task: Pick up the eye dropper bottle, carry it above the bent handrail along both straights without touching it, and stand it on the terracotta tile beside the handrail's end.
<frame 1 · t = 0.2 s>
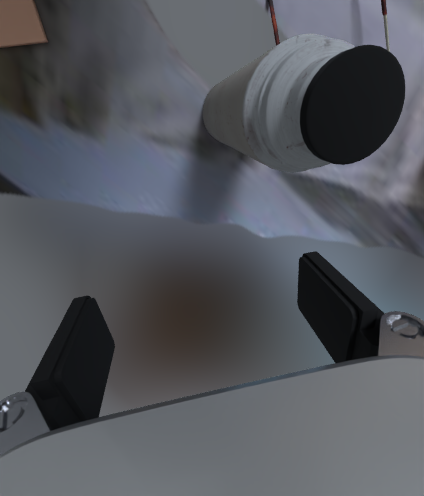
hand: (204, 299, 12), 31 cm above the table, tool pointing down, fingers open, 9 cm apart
thermos bottle: (229, 113, 36), on the table
sunglasses: (318, 50, 35), on the table
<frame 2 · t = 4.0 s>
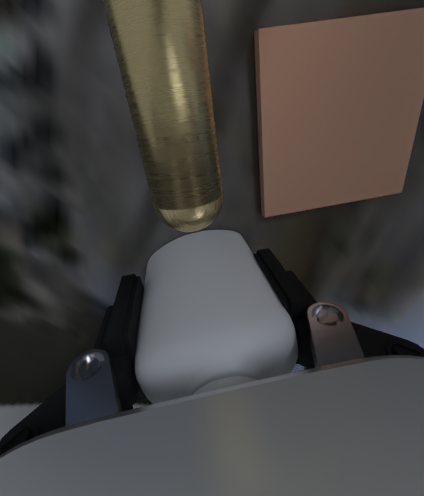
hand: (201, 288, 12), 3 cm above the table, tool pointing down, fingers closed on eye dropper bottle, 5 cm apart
bent handrail: (230, 36, 10), on the table
eye dropper bottle: (197, 255, 15), on the table, touching gripper
terracotta tile: (335, 124, 13), on the table
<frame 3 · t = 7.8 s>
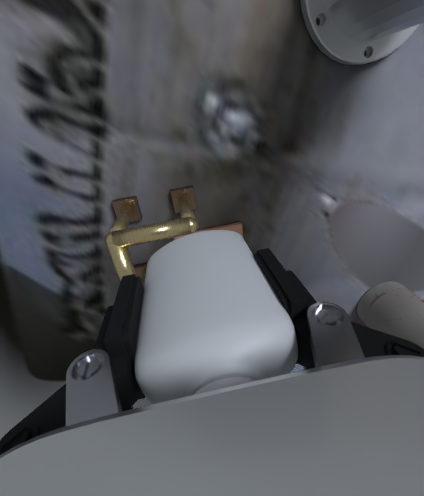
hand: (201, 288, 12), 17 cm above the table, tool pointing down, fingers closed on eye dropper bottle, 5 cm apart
bent handrail: (164, 236, 29), on the table
thermos bottle: (379, 301, 40), on the table
eye dropper bottle: (197, 256, 15), point 14 cm above the table, touching gripper
when the fingers open (4 cm above the table, at t = 11.6 s): eye dropper bottle stays where it is, resting on terracotta tile.
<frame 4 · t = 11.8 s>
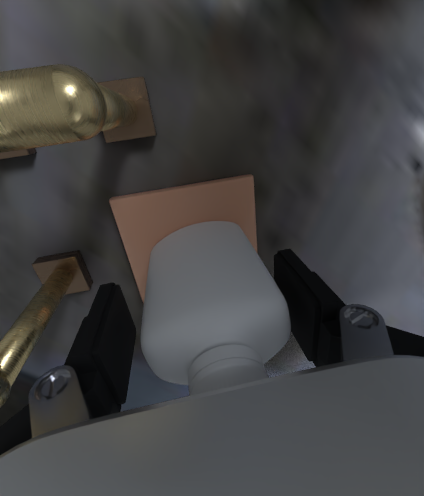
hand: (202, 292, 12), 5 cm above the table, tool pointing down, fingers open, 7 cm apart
bent handrail: (93, 200, 14), on the table
eye dropper bottle: (198, 246, 16), resting on terracotta tile
terracotta tile: (193, 246, 16), on the table
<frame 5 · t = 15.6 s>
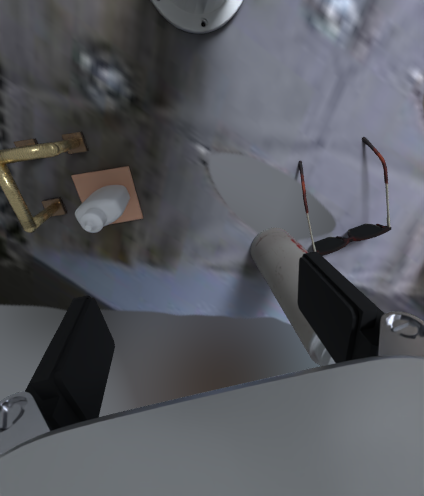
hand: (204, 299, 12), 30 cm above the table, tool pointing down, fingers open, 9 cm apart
bent handrail: (65, 175, 36), on the table
thermos bottle: (271, 247, 47), on the table
sunglasses: (333, 194, 44), on the table
eye dropper bottle: (110, 196, 38), resting on terracotta tile
terracotta tile: (110, 197, 38), on the table
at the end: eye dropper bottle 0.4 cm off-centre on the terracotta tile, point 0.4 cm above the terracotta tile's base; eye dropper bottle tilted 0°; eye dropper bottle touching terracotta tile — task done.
